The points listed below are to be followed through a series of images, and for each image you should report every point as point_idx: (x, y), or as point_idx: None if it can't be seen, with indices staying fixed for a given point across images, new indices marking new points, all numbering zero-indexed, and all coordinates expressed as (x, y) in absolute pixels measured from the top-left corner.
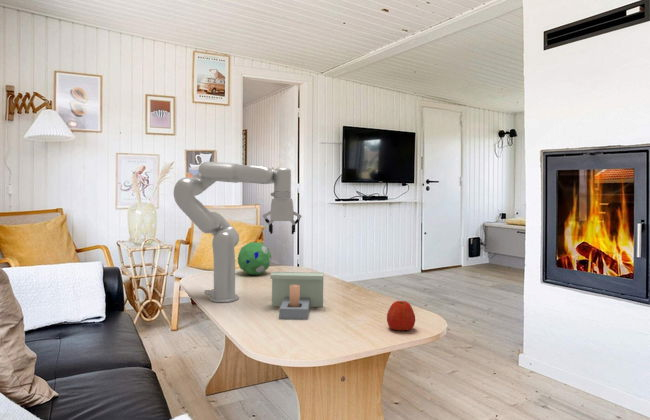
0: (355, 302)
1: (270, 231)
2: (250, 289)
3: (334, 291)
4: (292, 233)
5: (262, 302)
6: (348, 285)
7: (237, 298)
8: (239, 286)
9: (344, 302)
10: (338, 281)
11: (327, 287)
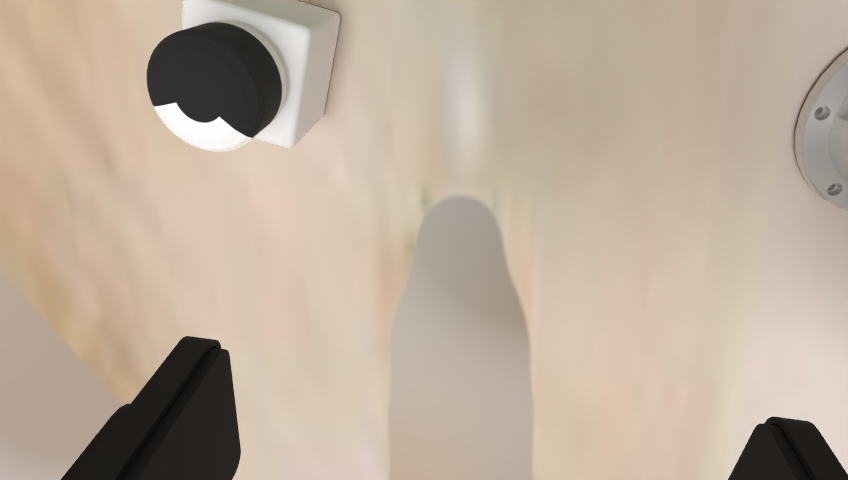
0: (3, 3)
1: (830, 466)
2: (677, 347)
3: (177, 270)
4: (198, 341)
5: (629, 19)
6: (123, 381)
7: (814, 92)
8: (737, 413)
9: (71, 4)
10: None
11: None
